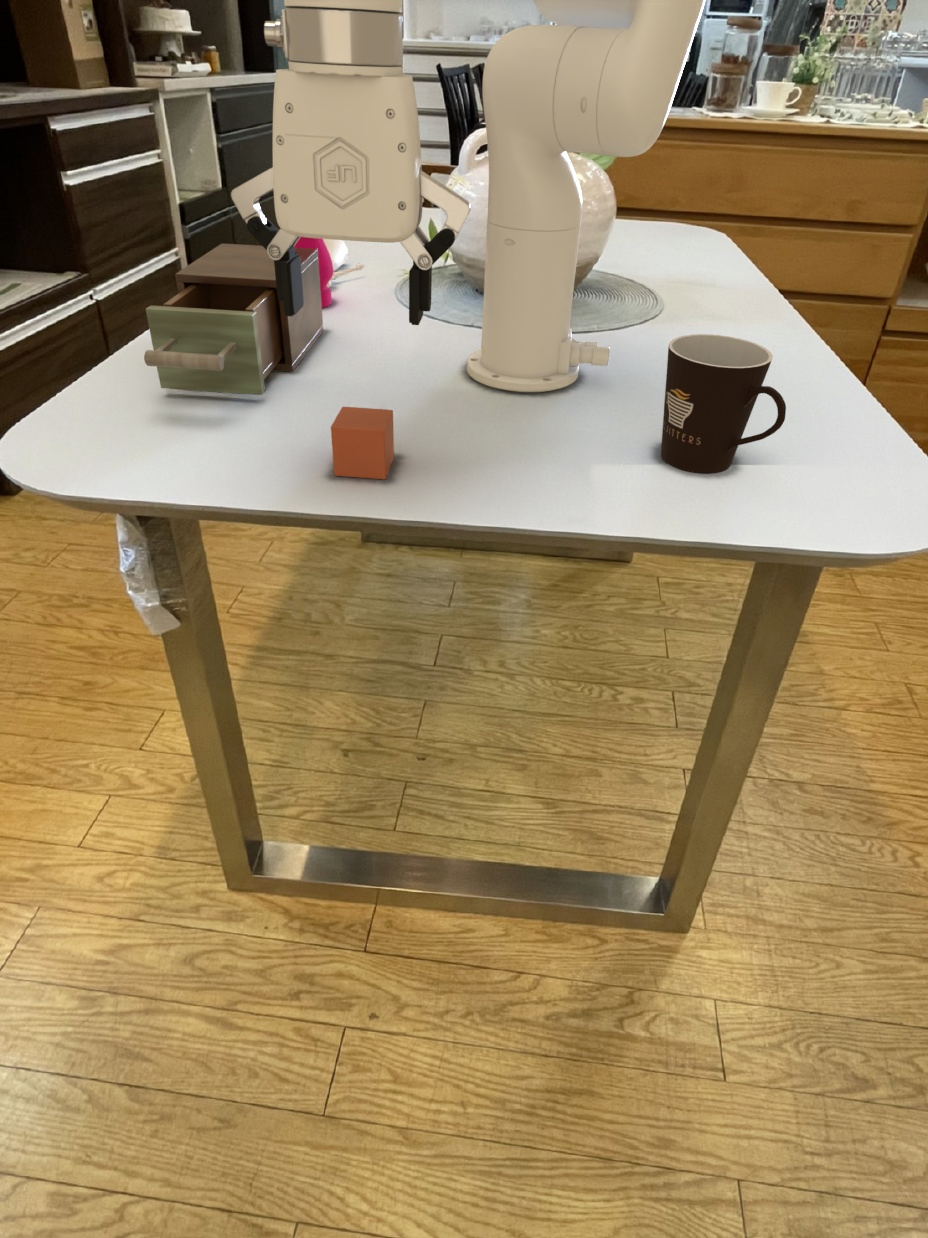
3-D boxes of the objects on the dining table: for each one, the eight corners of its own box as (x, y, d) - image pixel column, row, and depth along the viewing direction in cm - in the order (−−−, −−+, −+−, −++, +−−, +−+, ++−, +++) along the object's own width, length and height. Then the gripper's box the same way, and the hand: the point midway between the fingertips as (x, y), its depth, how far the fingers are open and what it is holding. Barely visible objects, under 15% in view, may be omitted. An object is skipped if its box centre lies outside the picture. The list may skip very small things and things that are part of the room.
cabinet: (292, 371, 88) (284, 280, 83) (190, 365, 89) (174, 273, 83) (323, 331, 100) (317, 248, 94) (232, 325, 101) (221, 243, 95)
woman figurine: (365, 230, 127) (361, 267, 113) (366, 260, 129) (363, 299, 116) (291, 229, 126) (278, 265, 112) (294, 258, 129) (281, 297, 115)
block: (394, 457, 72) (393, 409, 69) (385, 479, 69) (384, 430, 66) (344, 453, 72) (342, 405, 70) (333, 476, 69) (330, 426, 66)
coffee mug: (638, 438, 77) (656, 333, 71) (724, 438, 78) (750, 334, 72) (673, 496, 68) (698, 381, 62) (771, 495, 69) (804, 381, 63)
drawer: (244, 417, 76) (232, 334, 71) (137, 409, 76) (119, 326, 72) (296, 351, 91) (290, 279, 87) (207, 345, 92) (195, 273, 87)
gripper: (195, 39, 50) (231, 322, 60) (472, 54, 49) (461, 338, 59) (234, 40, 56) (260, 296, 66) (481, 53, 55) (469, 310, 65)
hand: (355, 315), depth 62 cm, fingers open, 9 cm apart
